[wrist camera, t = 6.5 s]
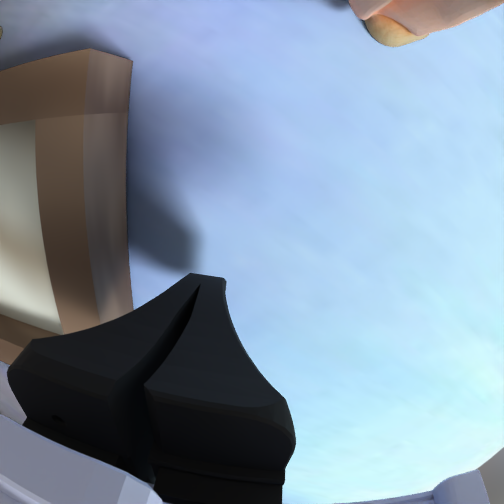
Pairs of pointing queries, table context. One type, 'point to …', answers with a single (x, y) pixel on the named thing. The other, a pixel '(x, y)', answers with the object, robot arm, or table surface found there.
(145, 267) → the table surface
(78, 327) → the picture frame
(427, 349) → the table surface
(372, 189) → the table surface
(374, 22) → the grandmother figurine
